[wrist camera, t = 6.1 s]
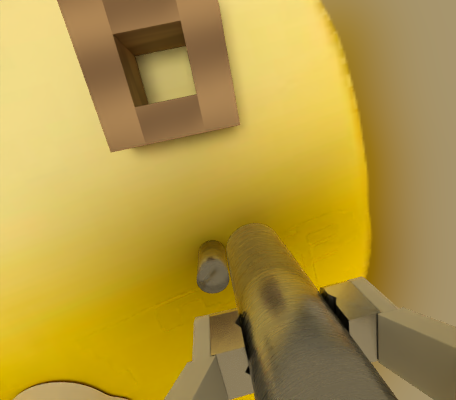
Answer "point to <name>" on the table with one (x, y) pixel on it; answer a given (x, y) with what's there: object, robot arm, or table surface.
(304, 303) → the long pin
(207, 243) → the short pin
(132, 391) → the table surface
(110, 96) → the hole block
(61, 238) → the table surface
